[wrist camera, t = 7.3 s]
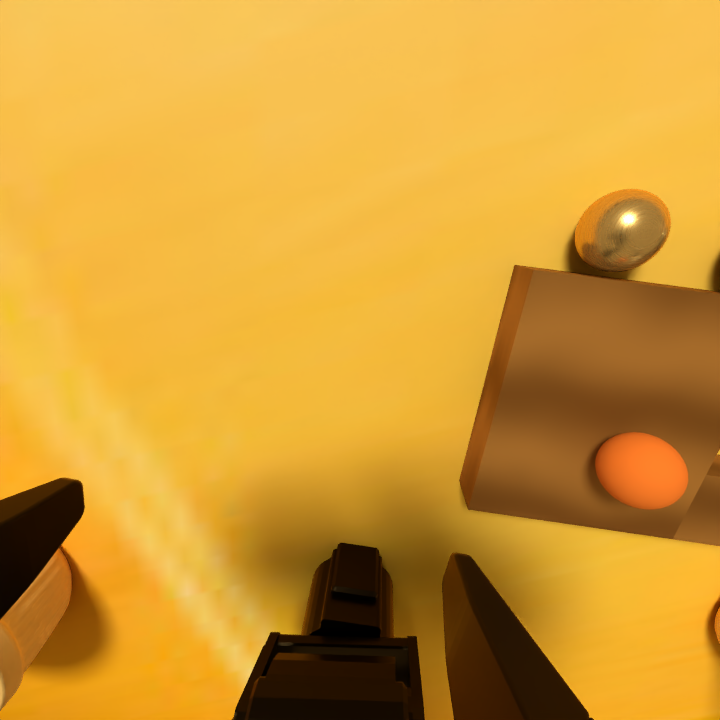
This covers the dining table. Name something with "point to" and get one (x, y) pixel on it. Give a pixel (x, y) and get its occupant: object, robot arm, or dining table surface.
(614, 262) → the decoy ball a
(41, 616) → the ramekin
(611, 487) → the ball
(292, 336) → the dining table surface
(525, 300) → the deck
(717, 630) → the vodka
